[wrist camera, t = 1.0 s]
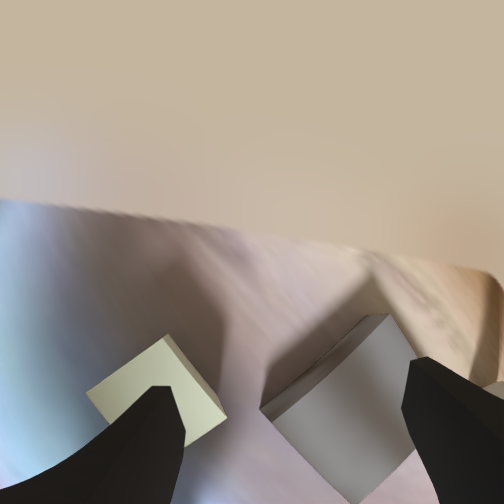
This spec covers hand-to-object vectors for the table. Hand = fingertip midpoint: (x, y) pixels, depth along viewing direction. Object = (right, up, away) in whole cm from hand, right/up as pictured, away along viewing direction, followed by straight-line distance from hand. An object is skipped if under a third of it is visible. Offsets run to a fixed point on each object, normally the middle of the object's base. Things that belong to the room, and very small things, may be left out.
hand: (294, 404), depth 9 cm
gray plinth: (+6, -7, +12) cm, 15 cm away
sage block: (-7, -4, +10) cm, 12 cm away
